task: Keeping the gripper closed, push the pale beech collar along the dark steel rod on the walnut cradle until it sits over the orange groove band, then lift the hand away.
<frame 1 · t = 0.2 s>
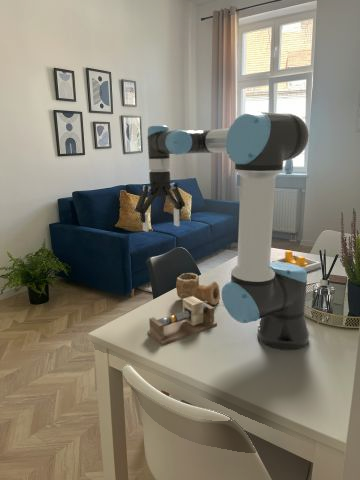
hand: (161, 228, 136), 27 cm above the table, fingers open, 13 cm apart
pipe clamp: (295, 267, 174), resting in parts corral
rod: (182, 315, 116), point 5 cm above the table
collar: (192, 310, 118), point 5 cm above the table, slide at -4.0 cm
cradle: (182, 328, 118), on the table
pipe: (197, 302, 137), on the table
parts corral: (296, 266, 174), on the table
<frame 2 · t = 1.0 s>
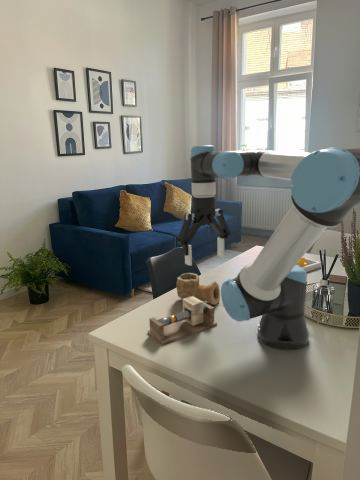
hand: (205, 260, 119), 21 cm above the table, fingers open, 13 cm apart
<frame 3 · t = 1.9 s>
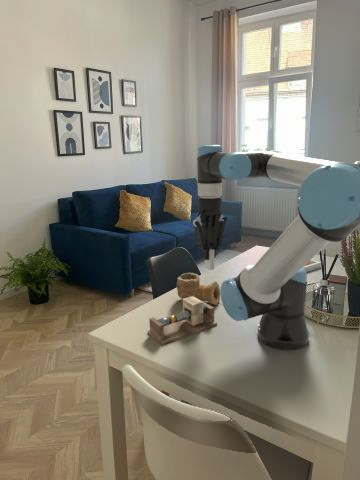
hand: (209, 268, 119), 18 cm above the table, fingers closed
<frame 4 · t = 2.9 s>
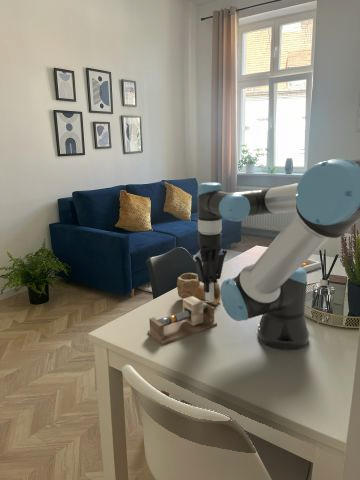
hand: (209, 300, 122), 7 cm above the table, fingers closed
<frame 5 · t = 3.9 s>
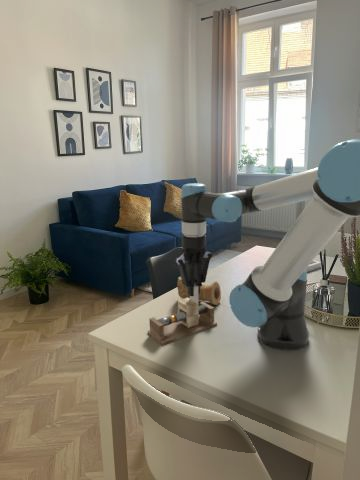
hand: (194, 304, 119), 7 cm above the table, fingers closed
collar: (188, 312, 117), point 5 cm above the table, slide at -2.1 cm, touching gripper
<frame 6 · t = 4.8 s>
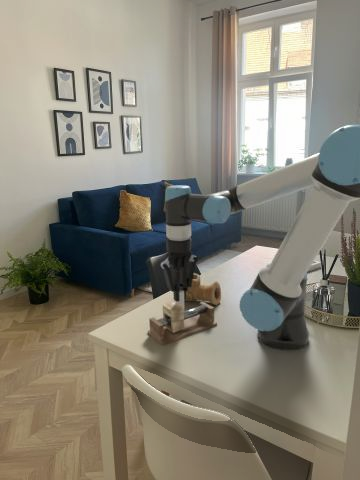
hand: (180, 309, 115), 7 cm above the table, fingers closed
collar: (173, 317, 114), point 5 cm above the table, slide at 3.6 cm, touching gripper
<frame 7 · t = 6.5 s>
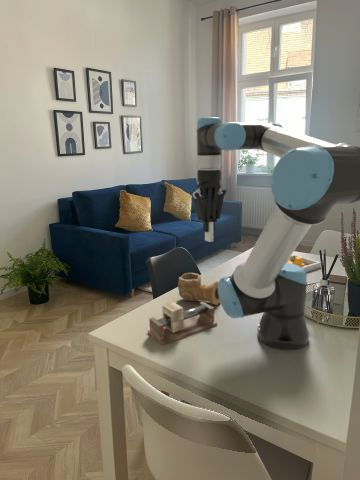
hand: (209, 240, 121), 26 cm above the table, fingers closed
collar: (173, 317, 114), point 5 cm above the table, slide at 3.7 cm
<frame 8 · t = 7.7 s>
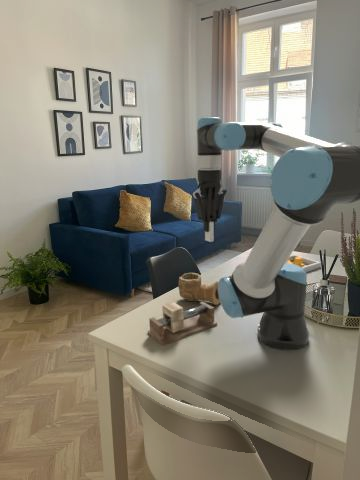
hand: (209, 240, 121), 26 cm above the table, fingers closed
at the end: collar slide at 3.7 cm; collar touching nothing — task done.
